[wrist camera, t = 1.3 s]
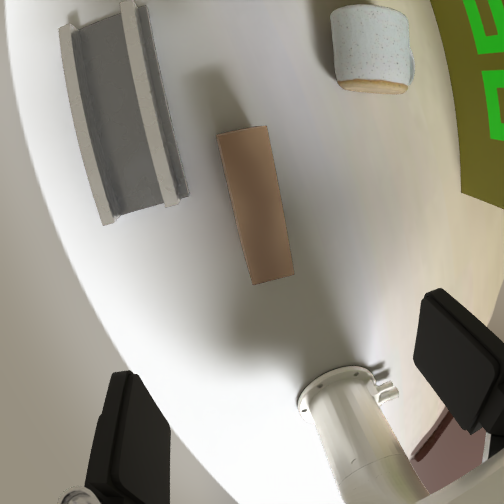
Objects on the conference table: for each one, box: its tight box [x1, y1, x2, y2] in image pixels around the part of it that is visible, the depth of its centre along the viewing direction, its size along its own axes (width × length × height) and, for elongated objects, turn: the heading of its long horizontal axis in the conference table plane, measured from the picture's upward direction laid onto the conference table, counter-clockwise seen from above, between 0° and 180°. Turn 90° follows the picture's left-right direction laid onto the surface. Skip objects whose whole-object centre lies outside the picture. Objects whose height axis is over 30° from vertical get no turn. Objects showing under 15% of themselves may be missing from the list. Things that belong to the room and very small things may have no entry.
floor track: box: [58, 0, 190, 226], centre depth 24 cm, size 9×20×4 cm, turn 12°
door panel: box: [216, 126, 294, 285], centre depth 27 cm, size 4×12×8 cm, turn 12°
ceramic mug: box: [330, 4, 415, 94], centre depth 23 cm, size 11×8×8 cm
